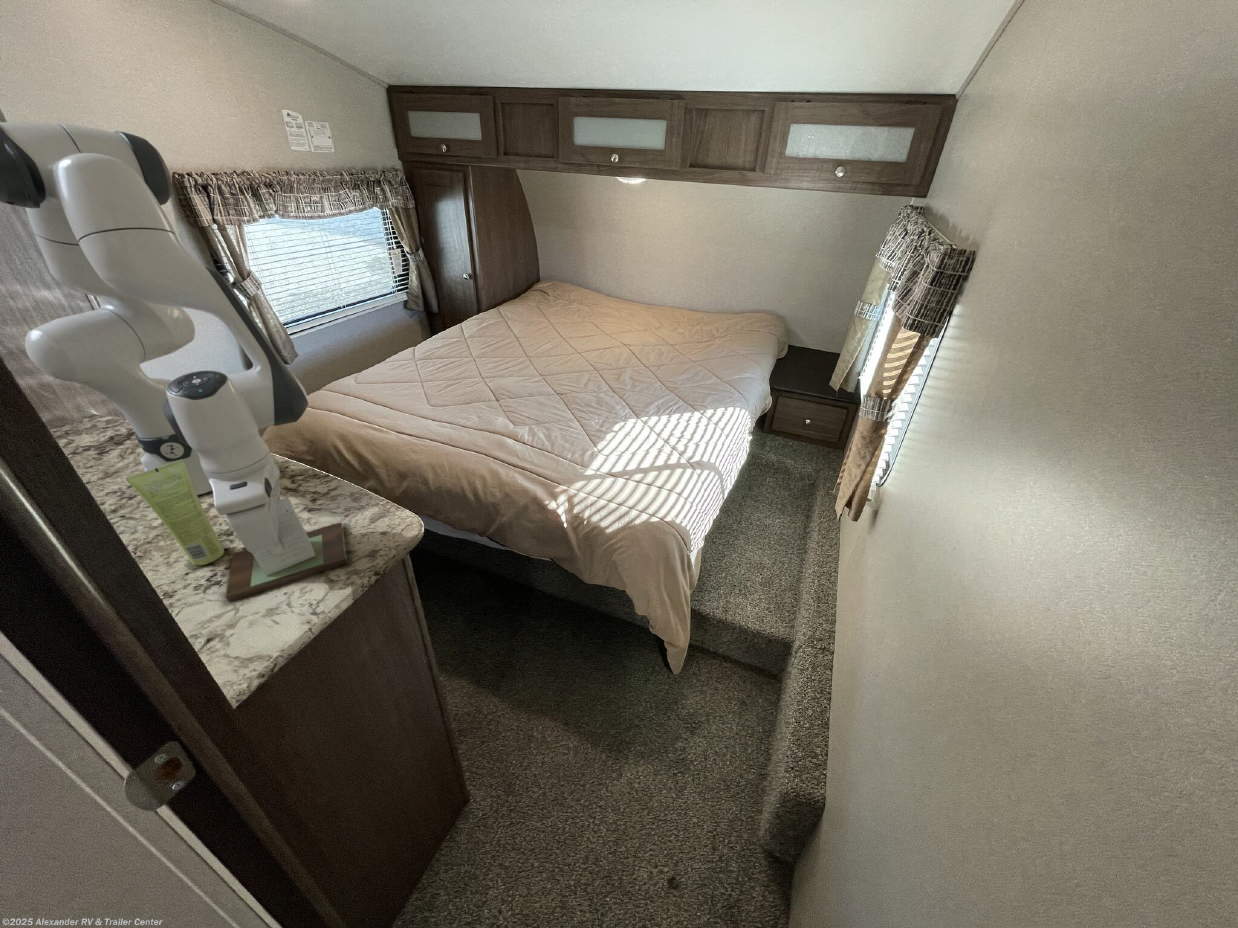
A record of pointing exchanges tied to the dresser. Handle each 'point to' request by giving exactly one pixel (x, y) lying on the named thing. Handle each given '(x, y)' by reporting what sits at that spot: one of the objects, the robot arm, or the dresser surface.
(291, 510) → the small box
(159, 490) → the tube
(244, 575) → the walnut board
